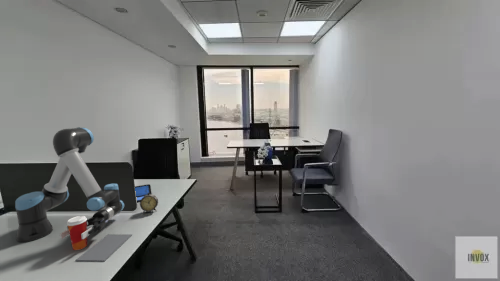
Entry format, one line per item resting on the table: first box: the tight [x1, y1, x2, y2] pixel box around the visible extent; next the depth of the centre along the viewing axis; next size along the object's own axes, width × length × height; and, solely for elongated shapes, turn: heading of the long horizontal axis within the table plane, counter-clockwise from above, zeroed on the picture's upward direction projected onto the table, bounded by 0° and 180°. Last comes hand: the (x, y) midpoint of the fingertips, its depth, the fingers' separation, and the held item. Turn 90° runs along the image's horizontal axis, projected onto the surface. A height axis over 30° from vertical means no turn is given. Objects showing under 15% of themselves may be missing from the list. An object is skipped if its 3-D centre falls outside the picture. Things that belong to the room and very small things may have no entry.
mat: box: [75, 233, 133, 262], centre depth 115 cm, size 14×22×1 cm, turn 177°
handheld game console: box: [134, 183, 153, 203], centre depth 179 cm, size 16×13×9 cm
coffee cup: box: [66, 215, 88, 251], centre depth 115 cm, size 8×8×15 cm
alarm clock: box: [139, 189, 159, 213], centre depth 154 cm, size 11×5×16 cm, turn 98°
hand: (71, 236), depth 110 cm, fingers open, 10 cm apart
